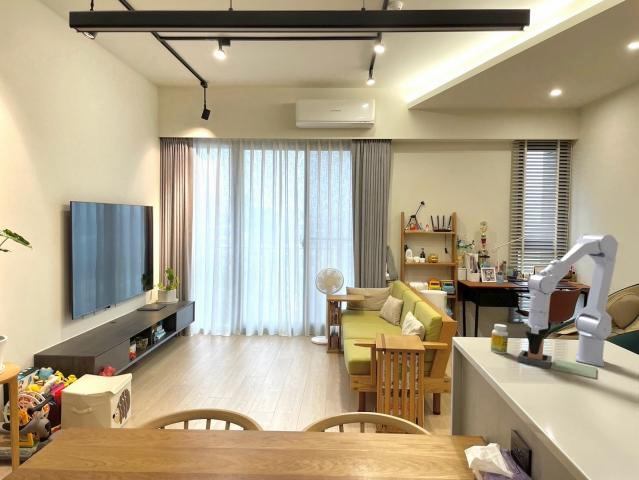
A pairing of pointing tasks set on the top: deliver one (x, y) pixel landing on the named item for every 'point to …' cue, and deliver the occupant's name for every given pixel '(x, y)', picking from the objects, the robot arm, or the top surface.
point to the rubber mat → (574, 368)
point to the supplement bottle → (499, 339)
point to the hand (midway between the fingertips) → (535, 351)
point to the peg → (540, 353)
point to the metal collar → (535, 360)
